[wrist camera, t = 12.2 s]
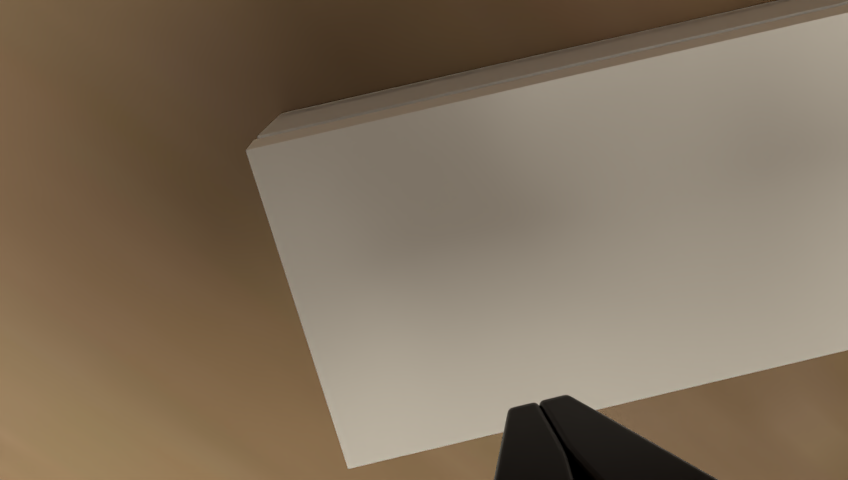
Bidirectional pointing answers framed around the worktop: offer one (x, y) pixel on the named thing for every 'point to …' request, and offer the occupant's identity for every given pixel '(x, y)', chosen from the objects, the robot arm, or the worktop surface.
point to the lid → (570, 234)
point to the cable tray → (543, 63)
